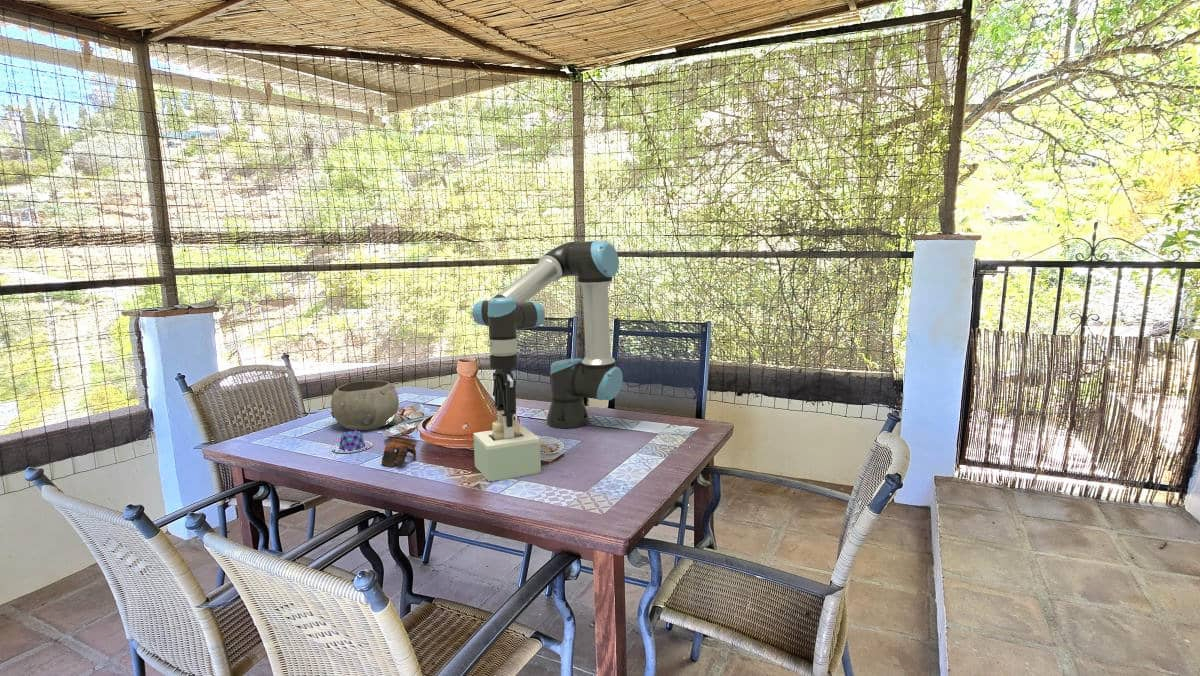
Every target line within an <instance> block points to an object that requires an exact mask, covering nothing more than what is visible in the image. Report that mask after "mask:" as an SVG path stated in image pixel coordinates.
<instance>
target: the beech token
mask: <svg viewBox="0 0 1200 676" xmlns="http://www.w3.org/2000/svg"><path fill="white" fill-rule="evenodd" d="M513 421H514V437H512V438H516V437H520V426H521V424H520V422H519V420H517V419H516V420H514V419H513ZM491 423H492V430H493V437H494V439H495V440H502V439H505V438H504V426H503V422H498V421H494V422H491ZM506 439H509V438H506Z"/></svg>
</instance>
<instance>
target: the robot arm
mask: <svg viewBox="0 0 1200 676" xmlns="http://www.w3.org/2000/svg"><path fill="white" fill-rule="evenodd" d="M619 266H620V260H619V255H618V252H617V250H616V248H615V247H614V245H613V244H611V243H610V242H608V241H603V240H594V241H587V240H586V241H569V242H565V243H562V244H561V245H558V246H556V247H555V248H553V249H551V250H550V251H547V253H545V254H543V255H542V256H540V258H539V259H538V262H537V263H536V265H534V266H533V267H532V268H530V269H528V271H526V272H525V273H524V274H522V275H521V276H520V277H518V278H517V279H515V280H514V281H513V282H512V283H511V284H509V285H508V286H507V287H505V288H504V289H503V290H501V291H500V292H499V293H497V294H496V295H495V296H493V297H492V298H490V299H488V300H479V301H477V302H476V303H475V304H474V305H473V308H472V312H471V313H472V315H471V316H472V318H473V320H474V323H476V324H477V325H480V326H486V327H488V340H489V342H488V343H487V346H488V347H489V353H490V354H489V367H490V369H493V370H496V371H495V372H493V373H492V376H493V389H494V392H493V395H494V407H496V410H497V422H503V426H504V438H505V439H506V438H512V437H514V421H513V420H514V415H516V414H517V395H516V393H517V392H516V391H517V390H516V387H517V381H516V379H514V375H513V374H512V369H515V368H517V367H518V354H517V352H518V342H517V341H518V340H517V331H518V330H526V329H534V328H537V327H539V326H541V325H542V324H543V323H544V322H545V319H546V312H545V308H544V307H543V305H542V304H541V303H539V302H538V301H531V299H533V297H535V296H536V295H537V294H539V293H540V292H541V291H542V290H543V289H545V288H546V287H547V286H548V285H550V284H551V283H554V282H558V281H559V280H560V279H563V278H565V277H577V283H578V285H580V286H581V287H582V302H583V322H584V323H583V325H584V327H583V328H584V346H585V348H584V349H585V356H584V358H580V357H579V358H567V359H561V360H556V361H554V362H553V361H552V363H551V364H550V373H549V376H550V396H551V397H550V401H551V402H550V406H549V407H548V408H549V409H548V411H547V415H546V424H547V425H548V426H550V427H552V428H558V429H573V428H574V429H575V428H580V427H585V426H586V425H588V424H589V422H590V421H589V413H588V410H587V408H586V405H585V403H584V398H586V399H587V398H588V399H594V400H598V401H612V400H613V399H615V398H616V397H617V395H618V394H619V393H620V391H621V388H622V385H623V380H624V379H623V377H624V376H623V372H622V370H621V368H620V367H618V366H616V359H615V358H614V357H613V356H612V355H611V353H612V352H611V331H610V329H611V328H610V307H609V304H610V303H609V302H610V301H609V285H610V284H611V283H612V282H613V277H614V276H615V275H617V274H618V269H619Z"/></svg>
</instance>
